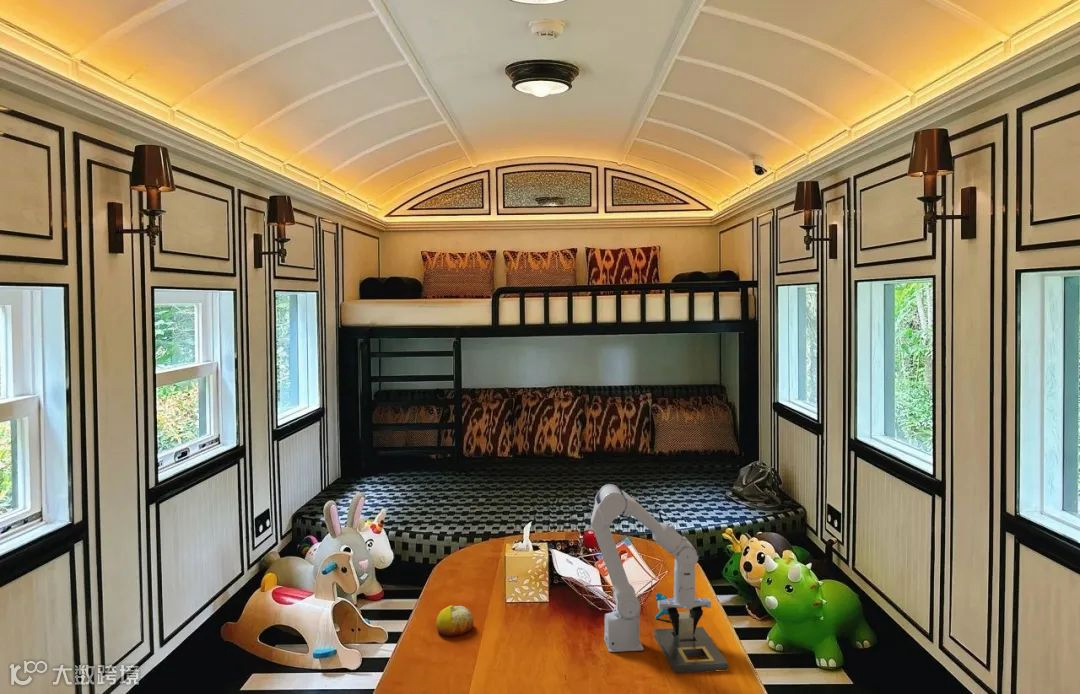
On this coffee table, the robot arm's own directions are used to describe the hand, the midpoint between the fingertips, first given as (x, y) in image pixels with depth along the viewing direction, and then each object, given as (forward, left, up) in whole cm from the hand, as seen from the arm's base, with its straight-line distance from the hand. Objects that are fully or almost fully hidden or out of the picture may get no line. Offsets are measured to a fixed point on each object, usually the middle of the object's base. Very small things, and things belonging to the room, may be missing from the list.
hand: (683, 633), depth 193 cm
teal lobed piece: (0, +15, -3) cm, 15 cm away
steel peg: (0, 0, -3) cm, 3 cm away
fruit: (-63, +15, -3) cm, 65 cm away
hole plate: (0, -5, -3) cm, 6 cm away
